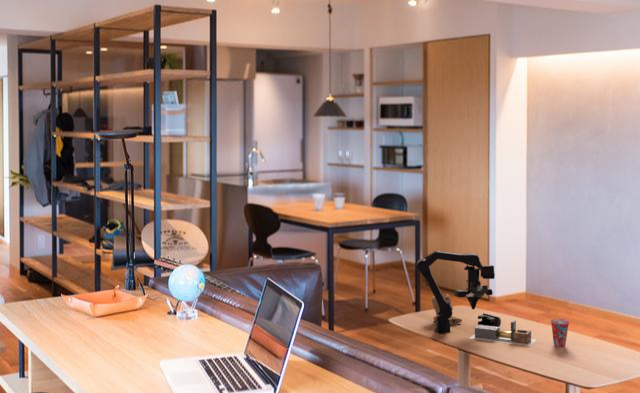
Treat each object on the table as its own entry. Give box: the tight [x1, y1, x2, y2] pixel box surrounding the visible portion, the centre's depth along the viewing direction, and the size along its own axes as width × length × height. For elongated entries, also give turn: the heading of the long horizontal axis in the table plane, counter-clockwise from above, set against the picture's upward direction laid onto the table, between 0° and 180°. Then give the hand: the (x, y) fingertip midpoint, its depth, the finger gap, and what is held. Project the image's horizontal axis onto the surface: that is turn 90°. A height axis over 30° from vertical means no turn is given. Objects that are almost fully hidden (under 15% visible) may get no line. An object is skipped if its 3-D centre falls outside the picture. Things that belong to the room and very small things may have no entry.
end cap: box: [477, 313, 502, 328], centre depth 413 cm, size 10×7×7 cm
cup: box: [550, 318, 570, 348], centre depth 379 cm, size 9×8×12 cm
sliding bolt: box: [496, 319, 517, 341], centre depth 390 cm, size 17×4×9 cm, turn 60°
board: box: [468, 333, 538, 347], centre depth 391 cm, size 30×13×1 cm, turn 60°
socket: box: [514, 329, 532, 344], centre depth 386 cm, size 6×7×5 cm
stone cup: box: [431, 293, 463, 326], centre depth 425 cm, size 15×12×15 cm
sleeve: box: [474, 324, 500, 340], centre depth 395 cm, size 10×6×5 cm, turn 60°
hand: (473, 309), depth 403 cm, fingers closed
